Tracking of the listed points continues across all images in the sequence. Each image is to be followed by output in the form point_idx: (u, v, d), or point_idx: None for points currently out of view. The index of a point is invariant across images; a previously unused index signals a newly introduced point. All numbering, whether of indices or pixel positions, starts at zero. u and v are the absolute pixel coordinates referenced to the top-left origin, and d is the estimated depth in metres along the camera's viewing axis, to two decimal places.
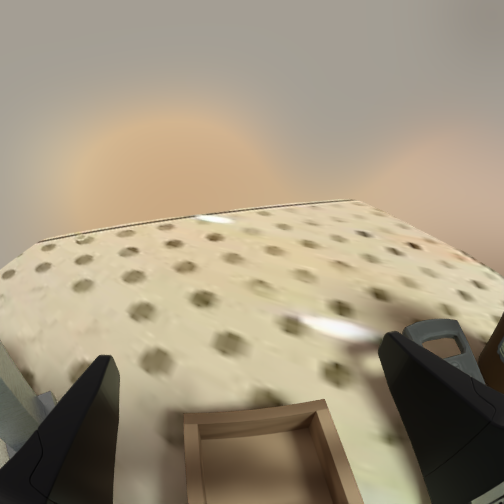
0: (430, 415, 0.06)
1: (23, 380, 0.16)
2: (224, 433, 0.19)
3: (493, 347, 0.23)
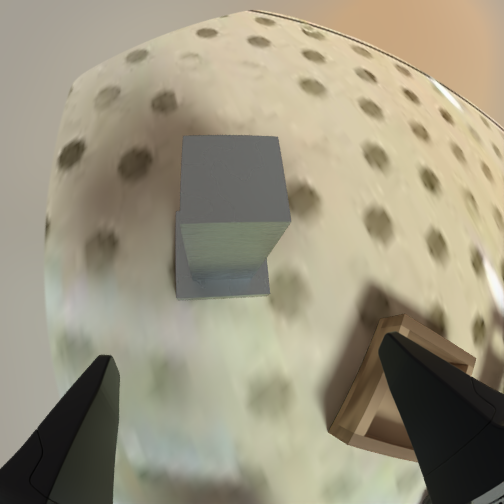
0: (430, 415, 0.06)
1: None
2: None
3: None
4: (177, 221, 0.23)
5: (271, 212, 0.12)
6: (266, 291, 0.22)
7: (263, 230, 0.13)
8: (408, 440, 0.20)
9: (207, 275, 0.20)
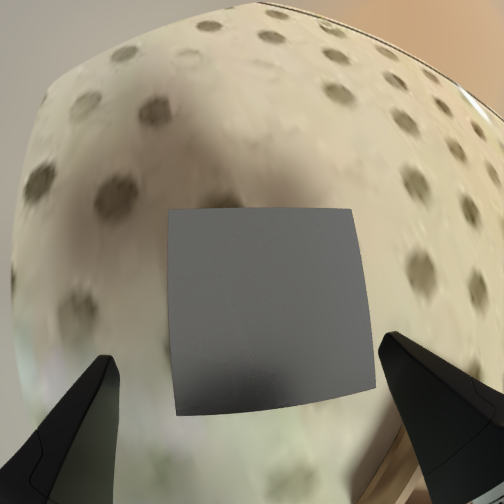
0: (430, 415, 0.06)
1: None
2: None
3: None
4: None
5: (345, 378, 0.06)
6: None
7: None
8: None
9: None
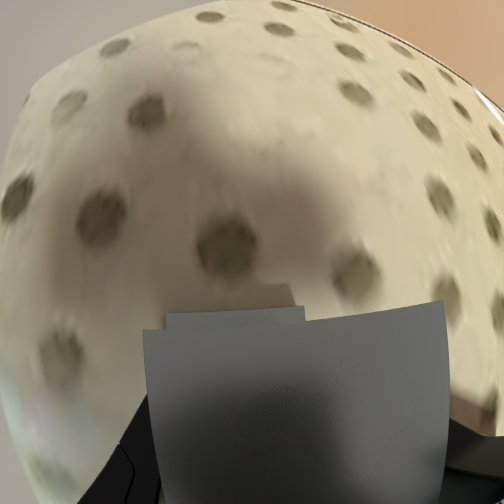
0: None
1: None
2: None
3: None
4: None
5: None
6: None
7: None
8: None
9: None
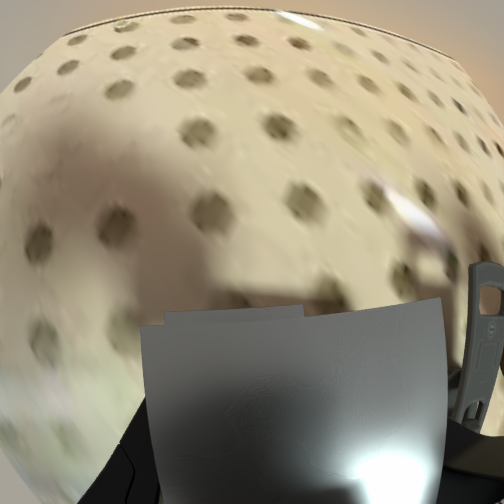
0: None
1: None
2: None
3: None
4: None
5: None
6: None
7: None
8: None
9: None
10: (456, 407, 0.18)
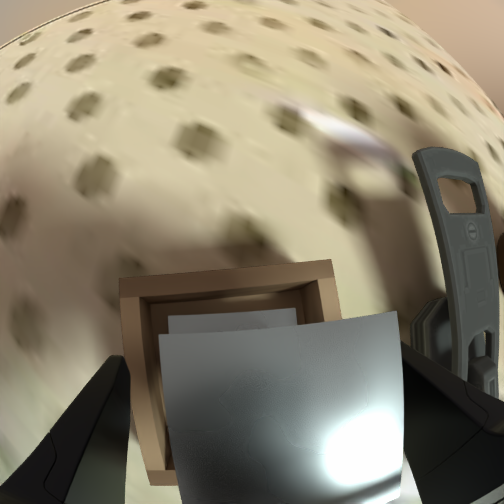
0: (421, 419, 0.06)
1: None
2: (181, 299, 0.15)
3: None
4: (171, 332, 0.15)
5: (370, 496, 0.04)
6: None
7: None
8: None
9: None
10: (454, 346, 0.15)
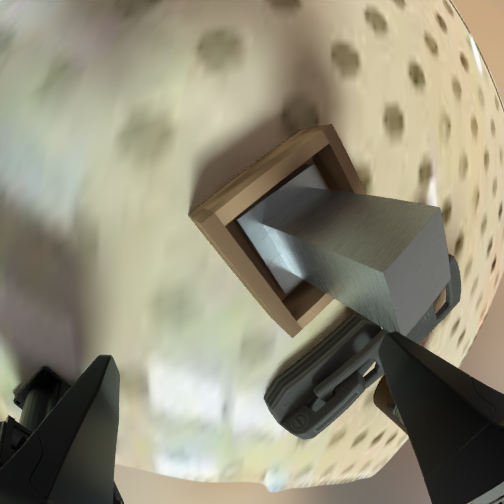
0: (430, 415, 0.06)
1: None
2: (325, 166, 0.21)
3: None
4: (305, 171, 0.20)
5: (405, 324, 0.12)
6: (286, 290, 0.22)
7: (385, 319, 0.12)
8: (274, 289, 0.23)
9: (280, 241, 0.19)
10: (366, 348, 0.25)
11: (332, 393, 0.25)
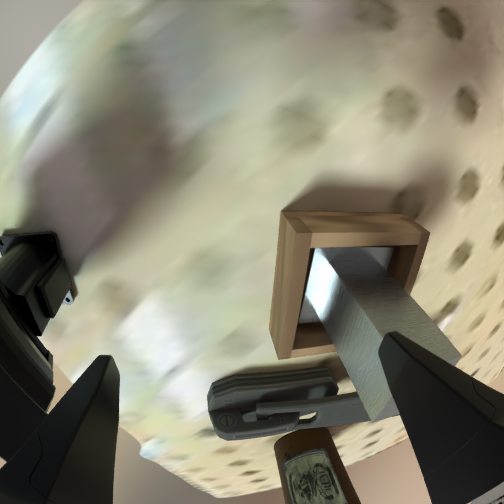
0: (430, 415, 0.06)
1: None
2: (398, 255, 0.22)
3: (327, 446, 0.34)
4: (384, 249, 0.21)
5: (383, 414, 0.13)
6: (300, 320, 0.23)
7: (372, 401, 0.14)
8: None
9: (333, 287, 0.20)
10: (319, 400, 0.26)
11: (268, 416, 0.27)
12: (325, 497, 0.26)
